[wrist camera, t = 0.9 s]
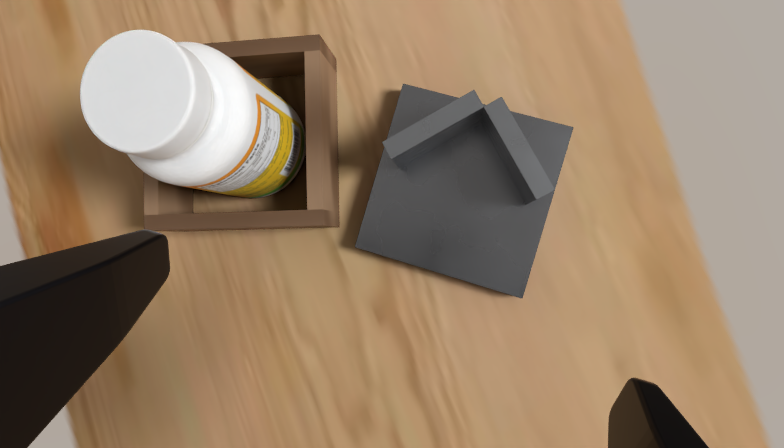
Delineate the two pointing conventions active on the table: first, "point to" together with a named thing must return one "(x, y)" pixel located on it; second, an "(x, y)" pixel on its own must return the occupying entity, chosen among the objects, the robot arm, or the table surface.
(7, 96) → the table surface
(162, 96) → the supplement bottle
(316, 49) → the block
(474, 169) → the v-block
